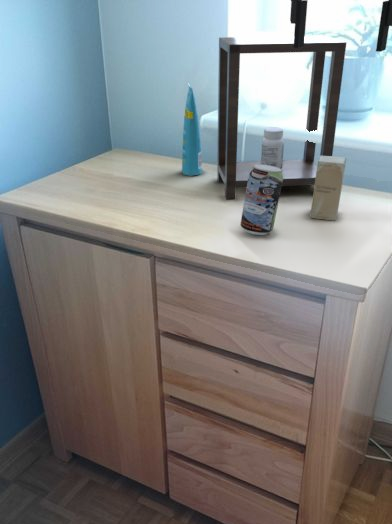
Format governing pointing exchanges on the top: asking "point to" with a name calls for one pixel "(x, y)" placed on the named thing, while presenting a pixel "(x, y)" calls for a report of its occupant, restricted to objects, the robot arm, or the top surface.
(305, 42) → the rack
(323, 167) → the box
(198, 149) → the tube
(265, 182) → the beverage can
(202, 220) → the top surface
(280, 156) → the pill bottle
